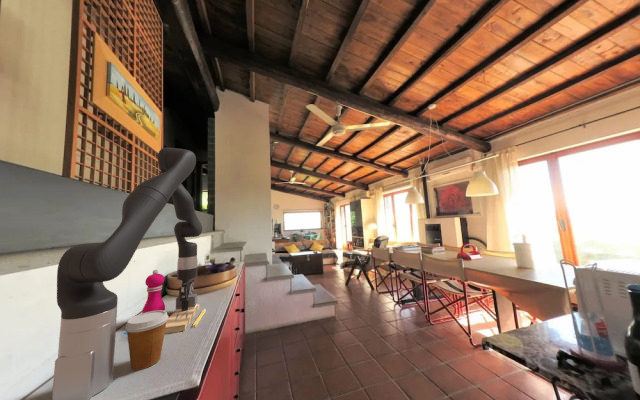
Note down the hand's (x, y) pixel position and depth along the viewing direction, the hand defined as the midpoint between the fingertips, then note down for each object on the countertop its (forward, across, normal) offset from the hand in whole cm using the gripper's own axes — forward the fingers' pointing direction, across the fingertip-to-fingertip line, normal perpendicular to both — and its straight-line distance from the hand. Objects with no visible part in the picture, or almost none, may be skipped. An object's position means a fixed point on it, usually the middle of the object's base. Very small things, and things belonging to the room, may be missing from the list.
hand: (186, 307), depth 93 cm
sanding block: (0, 0, 0) cm, 0 cm away
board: (+2, -7, 0) cm, 7 cm away
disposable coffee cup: (+2, -35, +1) cm, 35 cm away
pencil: (+2, -9, -7) cm, 11 cm away
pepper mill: (+2, -5, +10) cm, 12 cm away
